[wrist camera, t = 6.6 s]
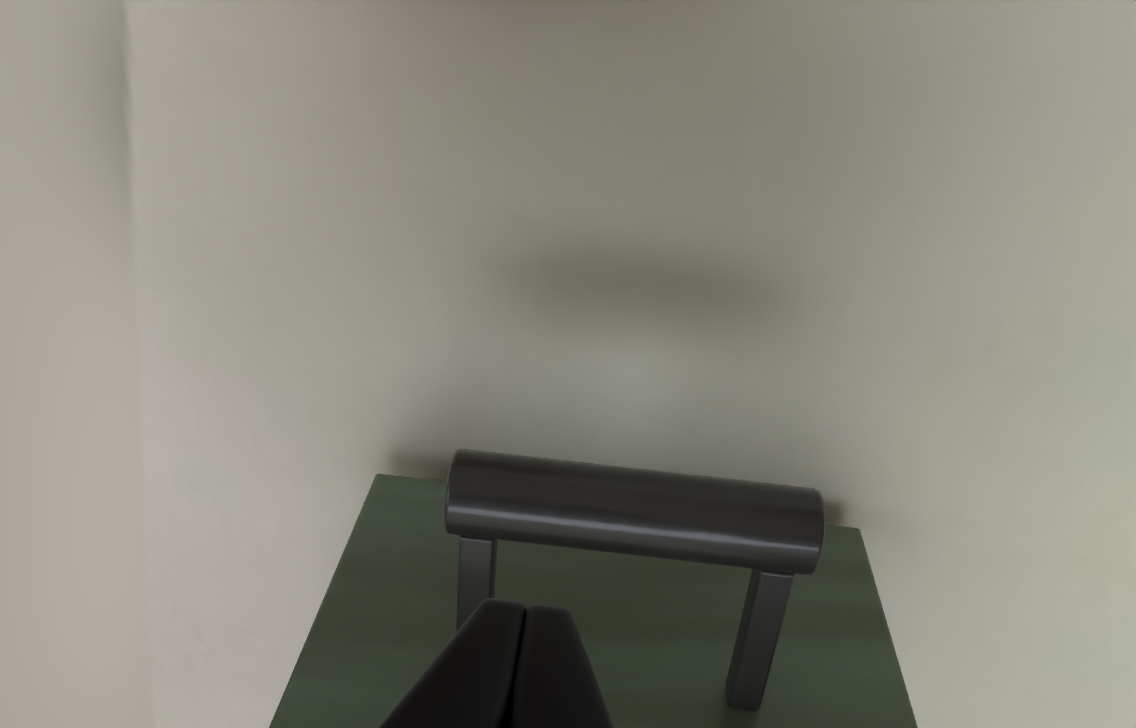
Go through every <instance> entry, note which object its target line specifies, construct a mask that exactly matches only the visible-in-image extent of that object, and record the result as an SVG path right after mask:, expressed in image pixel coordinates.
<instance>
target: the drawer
mask: <svg viewBox="0 0 1136 728" xmlns="http://www.w3.org/2000/svg"><path fill="white" fill-rule="evenodd" d="M488 598H495V599H503V600H511V601H519V602H522V603H523V604H524V605H525V607H526V610H527V608H528V606H529V605H531V604H542V605H550V606H558V607H564V608H566V609H568V610H569V611H570V613H571V615H572V617H573V620H574V622H575V625H576V627H577V630H578V633H579V635H580V638H581V641H582V643H583V646H584V648H585V651H586V654H587V656H588V659H589V661H590V664H591V667H592V669H593V672H594V675H595V677H596V680H597V682H598V685H599V688H600V690H601V693H602V695H603V698H604V701H605V703H606V706H607V709H608V711H609V714H610V716H611V719H612V722H613V724H614V727H615V728H918V727H917V724H916V720H915V717H914V714H913V710H912V707H911V703H910V700H909V697H908V693H907V690H906V686H905V683H904V679H903V676H902V673H901V669H900V666H899V662H898V659H897V656H896V652H895V649H894V645H893V642H892V638H891V635H890V632H889V628H888V625H887V621H886V618H885V614H884V611H883V608H882V604H881V601H880V597H879V594H878V591H877V587H876V584H875V580H874V577H873V573H872V570H871V567H870V563H869V560H868V556H867V553H866V550H865V546H864V543H863V539H862V536H861V532H860V530H859V529H858V528H852V527H843V526H834V525H825V510H824V504H823V499H822V496H821V494H820V492H819V491H818V490H816V489H814V488H806V487H797V486H788V485H779V484H770V483H761V482H752V481H743V480H735V479H726V478H717V477H708V476H699V475H690V474H681V473H672V472H664V471H655V470H646V469H637V468H628V467H619V466H610V465H601V464H593V463H584V462H575V461H566V460H557V459H548V458H539V457H530V456H522V455H513V454H504V453H495V452H486V451H477V450H468V449H458V450H456V452H455V453H454V455H453V457H452V460H451V464H450V468H449V472H448V478H447V481H438V480H429V479H420V478H411V477H403V476H394V475H385V474H377V475H376V476H375V478H374V481H373V483H372V485H371V488H370V490H369V492H368V495H367V497H366V500H365V502H364V504H363V507H362V509H361V511H360V514H359V516H358V518H357V521H356V523H355V526H354V528H353V530H352V533H351V535H350V537H349V540H348V542H347V545H346V547H345V549H344V552H343V554H342V556H341V559H340V561H339V563H338V566H337V568H336V571H335V573H334V575H333V578H332V580H331V582H330V585H329V587H328V590H327V592H326V594H325V597H324V599H323V601H322V604H321V606H320V608H319V611H318V613H317V616H316V618H315V620H314V623H313V625H312V627H311V630H310V632H309V635H308V637H307V639H306V642H305V644H304V646H303V649H302V651H301V653H300V656H299V658H298V661H297V663H296V665H295V668H294V670H293V672H292V675H291V677H290V680H289V682H288V684H287V687H286V689H285V691H284V694H283V696H282V698H281V701H280V703H279V706H278V708H277V710H276V713H275V715H274V717H273V720H272V722H271V725H270V727H269V728H378V727H379V725H380V724H381V723H382V722H383V721H384V719H385V718H386V717H387V716H388V715H389V713H390V712H391V711H392V710H393V709H394V707H395V706H396V705H397V704H398V702H399V701H400V700H401V699H402V698H403V696H404V695H405V694H406V693H407V692H408V690H409V689H410V688H411V687H412V685H413V684H414V683H415V682H416V681H417V679H418V678H419V677H420V676H421V675H422V673H423V672H424V671H425V670H426V669H427V667H428V666H429V665H430V664H431V662H432V661H433V660H434V659H435V658H436V656H437V655H438V654H439V653H440V652H441V650H442V649H443V648H444V647H445V645H446V644H447V643H448V642H449V641H450V639H451V638H452V637H453V636H454V635H455V633H456V632H457V631H458V630H459V628H460V627H461V626H462V625H463V624H464V622H465V621H466V620H467V619H468V618H469V616H470V615H471V614H472V613H473V612H474V610H475V609H476V608H477V607H478V605H479V604H480V603H481V602H482V601H483V600H485V599H488Z"/></svg>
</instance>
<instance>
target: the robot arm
mask: <svg viewBox="0 0 1136 728" xmlns="http://www.w3.org/2000/svg"><path fill="white" fill-rule="evenodd" d="M378 728H615V727H614V724H613V722H612V719H611V716H610V714H609V711H608V709H607V706H606V703H605V701H604V698H603V695H602V693H601V690H600V688H599V685H598V682H597V680H596V677H595V675H594V672H593V669H592V667H591V664H590V661H589V659H588V656H587V654H586V651H585V648H584V646H583V643H582V641H581V638H580V635H579V633H578V630H577V627H576V625H575V622H574V620H573V617H572V615H571V613H570V611H569V610H568V609H566V608H564V607H558V606H550V605H542V604H531V605H529V606H528V608H527V610H526V607H525V605H524V604H523V603H522V602H519V601H511V600H503V599H495V598H488V599H485V600H483V601H482V602H481V603H480V604H479V605H478V607H477V608H476V609H475V610H474V612H473V613H472V614H471V615H470V616H469V618H468V619H467V620H466V621H465V622H464V624H463V625H462V626H461V627H460V628H459V630H458V631H457V632H456V633H455V635H454V636H453V637H452V638H451V639H450V641H449V642H448V643H447V644H446V645H445V647H444V648H443V649H442V650H441V652H440V653H439V654H438V655H437V656H436V658H435V659H434V660H433V661H432V662H431V664H430V665H429V666H428V667H427V669H426V670H425V671H424V672H423V673H422V675H421V676H420V677H419V678H418V679H417V681H416V682H415V683H414V684H413V685H412V687H411V688H410V689H409V690H408V692H407V693H406V694H405V695H404V696H403V698H402V699H401V700H400V701H399V702H398V704H397V705H396V706H395V707H394V709H393V710H392V711H391V712H390V713H389V715H388V716H387V717H386V718H385V719H384V721H383V722H382V723H381V724H380V725H379V727H378Z"/></svg>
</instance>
